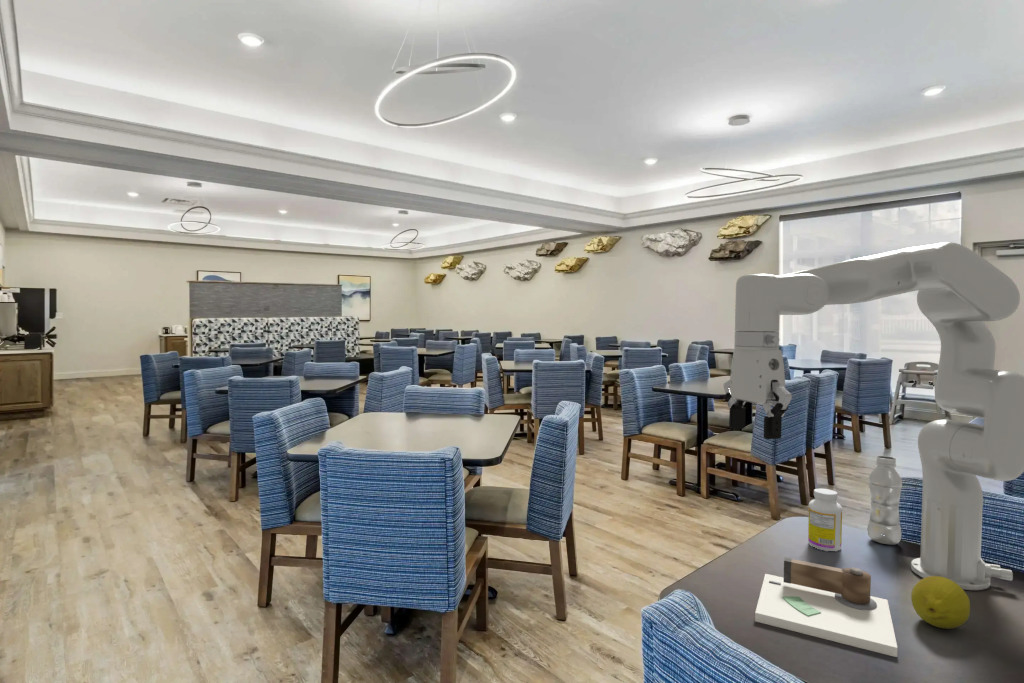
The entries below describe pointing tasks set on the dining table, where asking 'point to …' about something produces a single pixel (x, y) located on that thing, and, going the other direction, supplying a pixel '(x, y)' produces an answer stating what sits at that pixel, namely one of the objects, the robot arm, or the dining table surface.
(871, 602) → the dial plate
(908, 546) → the dining table surface
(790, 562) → the walnut dial lever
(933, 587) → the lemon
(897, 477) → the plastic bottle
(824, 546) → the supplement bottle
